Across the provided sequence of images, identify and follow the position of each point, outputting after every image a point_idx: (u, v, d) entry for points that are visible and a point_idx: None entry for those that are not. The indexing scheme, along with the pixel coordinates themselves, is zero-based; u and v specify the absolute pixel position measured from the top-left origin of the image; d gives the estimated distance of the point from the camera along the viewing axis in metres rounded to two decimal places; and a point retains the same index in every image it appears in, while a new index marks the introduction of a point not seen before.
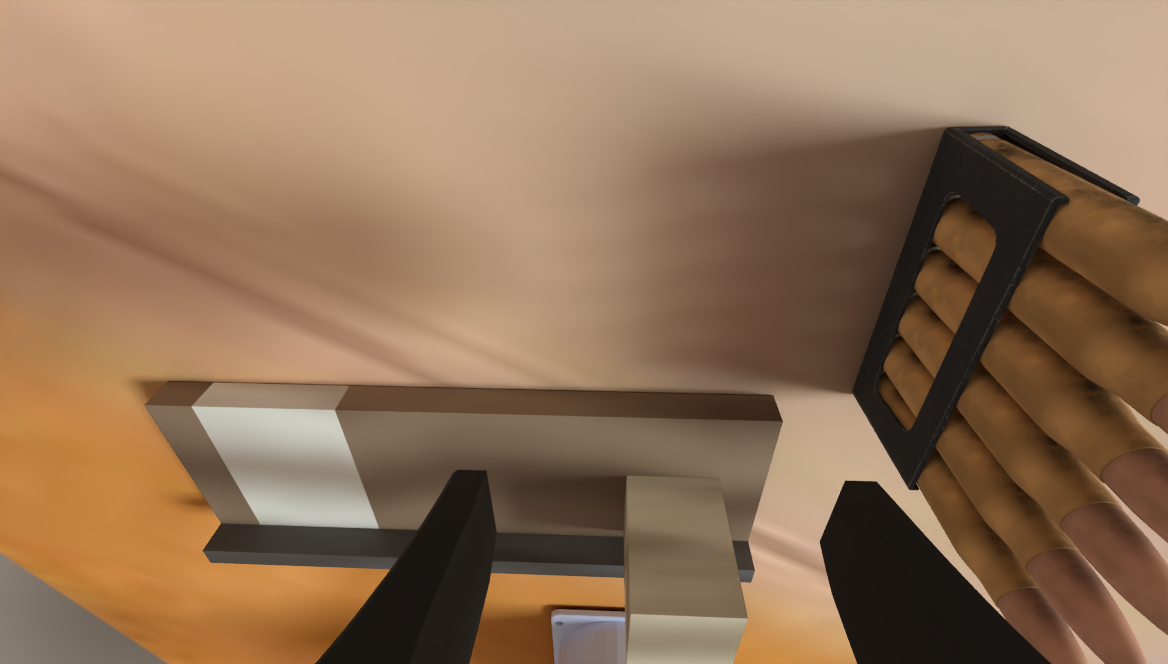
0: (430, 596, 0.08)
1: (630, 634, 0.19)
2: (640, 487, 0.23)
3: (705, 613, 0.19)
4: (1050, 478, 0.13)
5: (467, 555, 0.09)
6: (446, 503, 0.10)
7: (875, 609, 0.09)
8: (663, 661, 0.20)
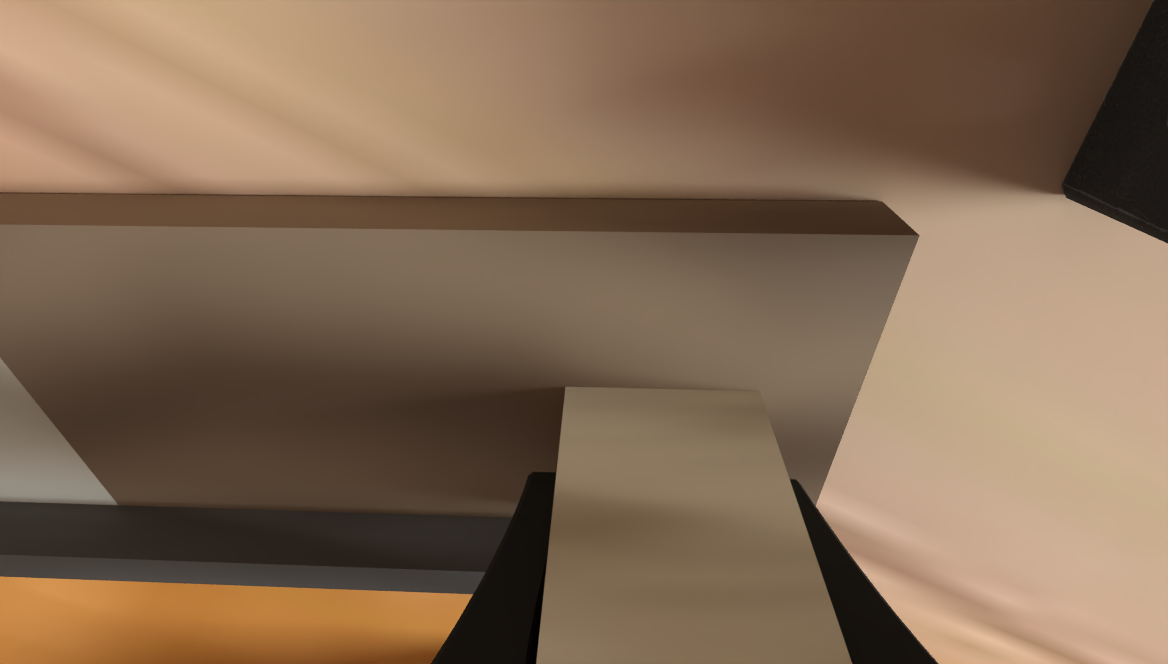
0: (531, 600, 0.08)
1: None
2: (592, 407, 0.11)
3: None
4: None
5: None
6: (530, 506, 0.10)
7: None
8: None
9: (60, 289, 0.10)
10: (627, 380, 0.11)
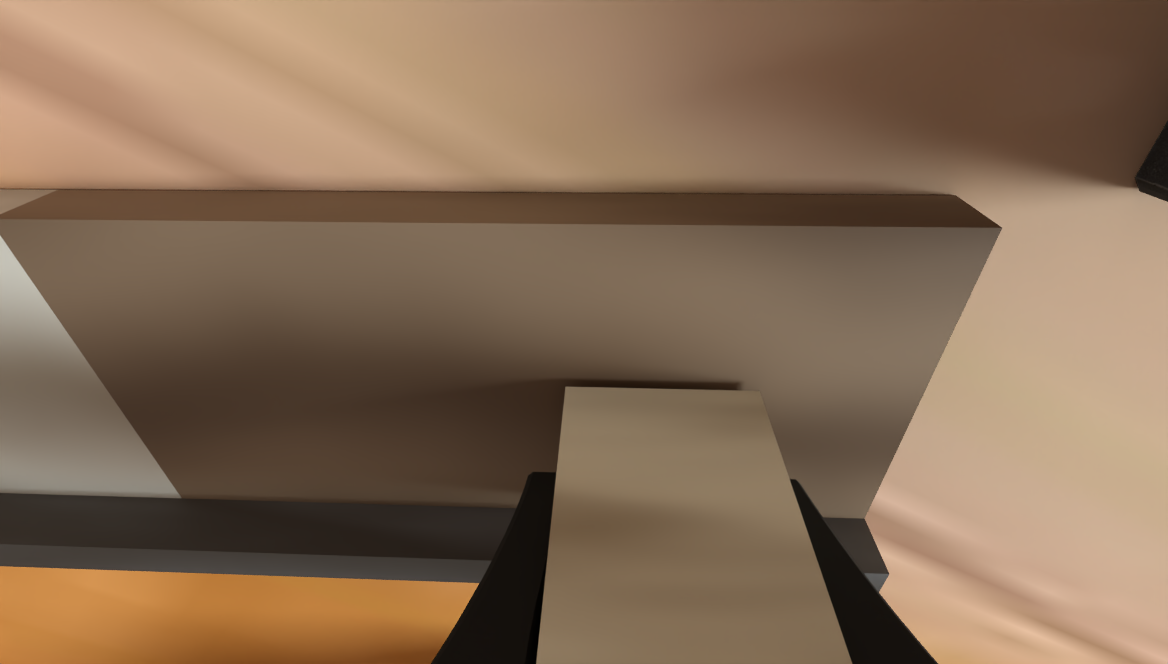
0: (532, 600, 0.08)
1: None
2: (592, 407, 0.11)
3: None
4: None
5: None
6: (530, 506, 0.10)
7: None
8: None
9: (147, 284, 0.10)
10: (699, 372, 0.11)
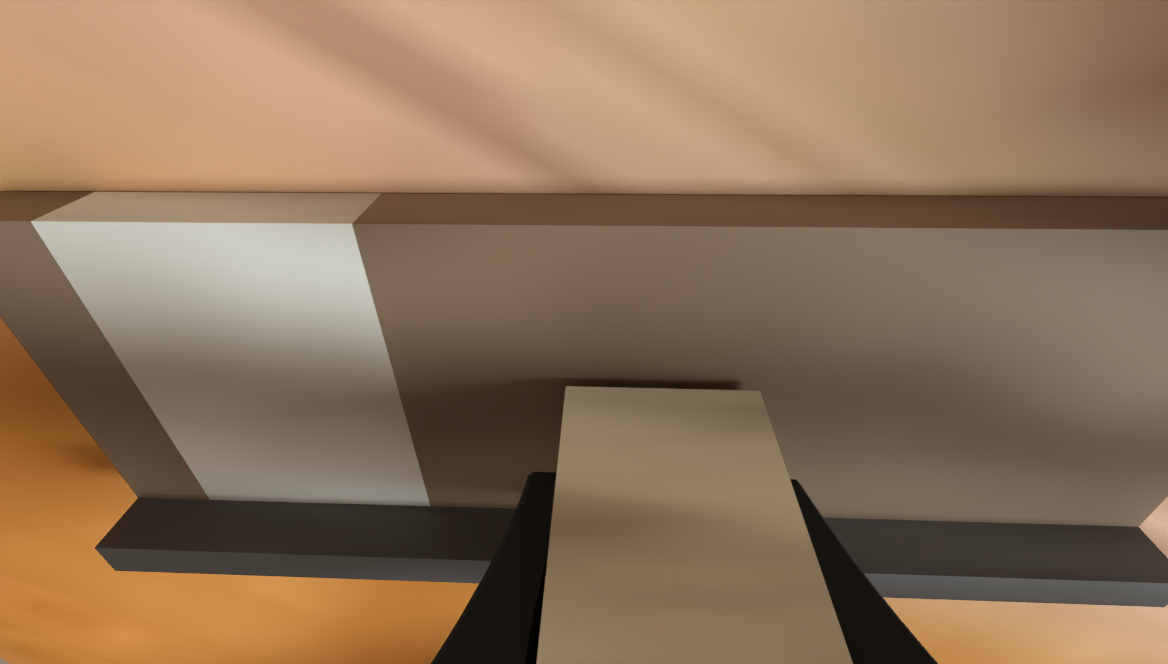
0: (531, 600, 0.08)
1: None
2: (592, 407, 0.11)
3: None
4: None
5: None
6: (530, 506, 0.10)
7: None
8: None
9: (489, 289, 0.10)
10: (1032, 379, 0.11)
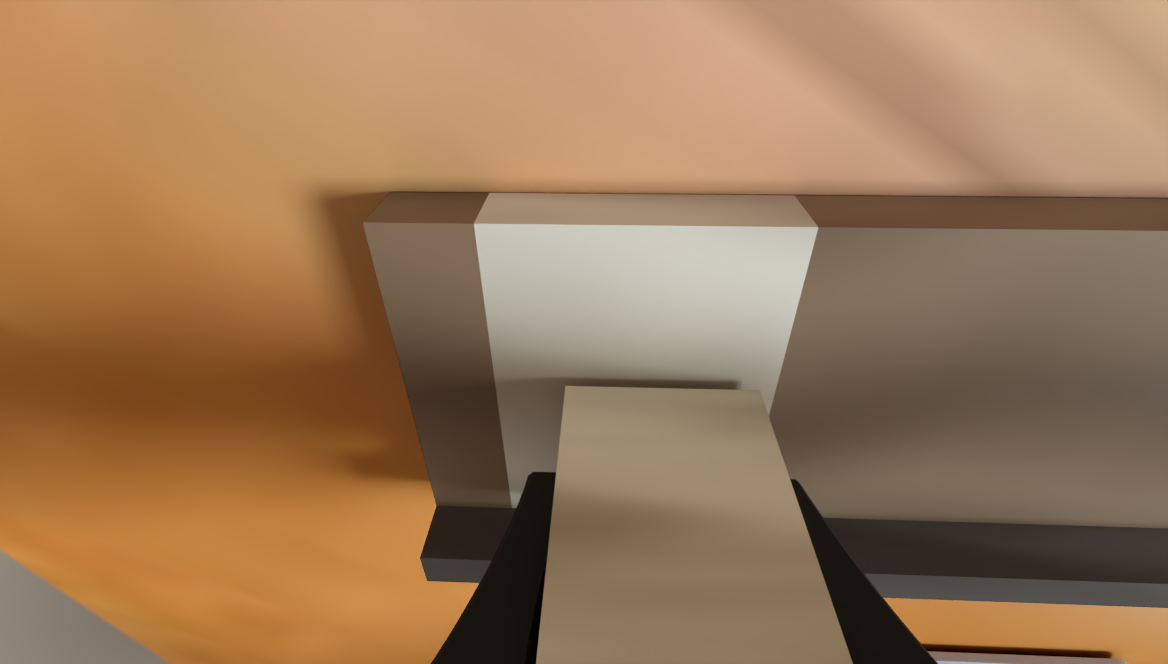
0: (531, 600, 0.08)
1: None
2: (591, 406, 0.11)
3: None
4: None
5: None
6: (530, 506, 0.10)
7: None
8: None
9: (928, 295, 0.10)
10: None
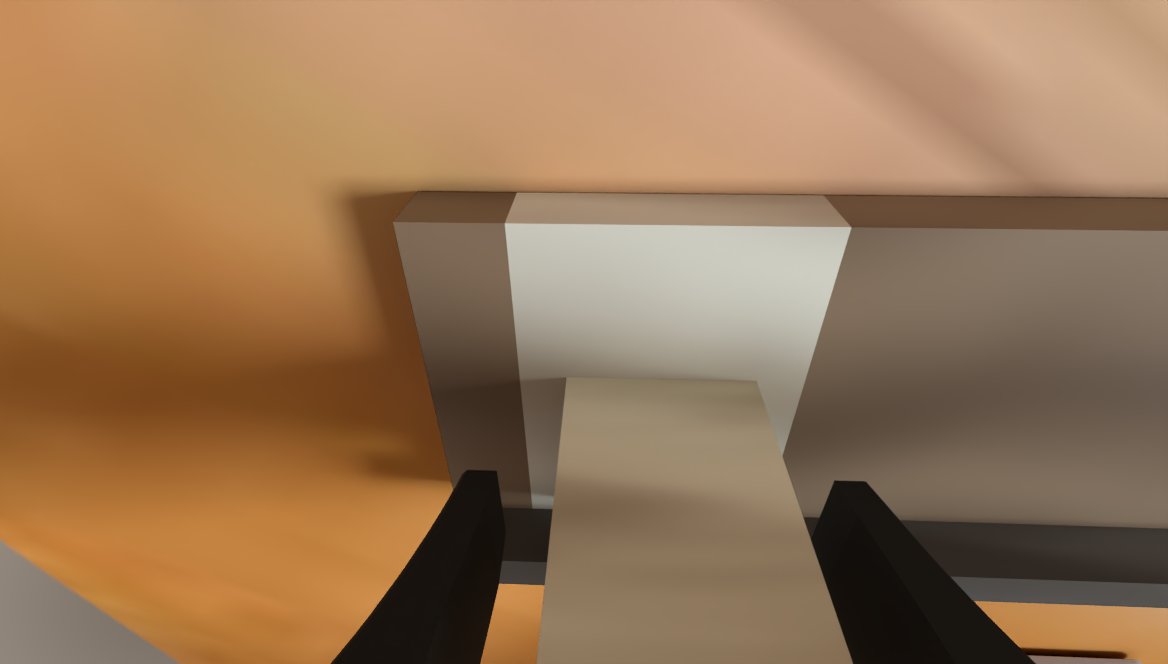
0: (443, 597, 0.08)
1: None
2: (592, 397, 0.11)
3: None
4: None
5: (478, 555, 0.09)
6: (457, 503, 0.10)
7: (863, 608, 0.09)
8: None
9: (959, 295, 0.10)
10: None
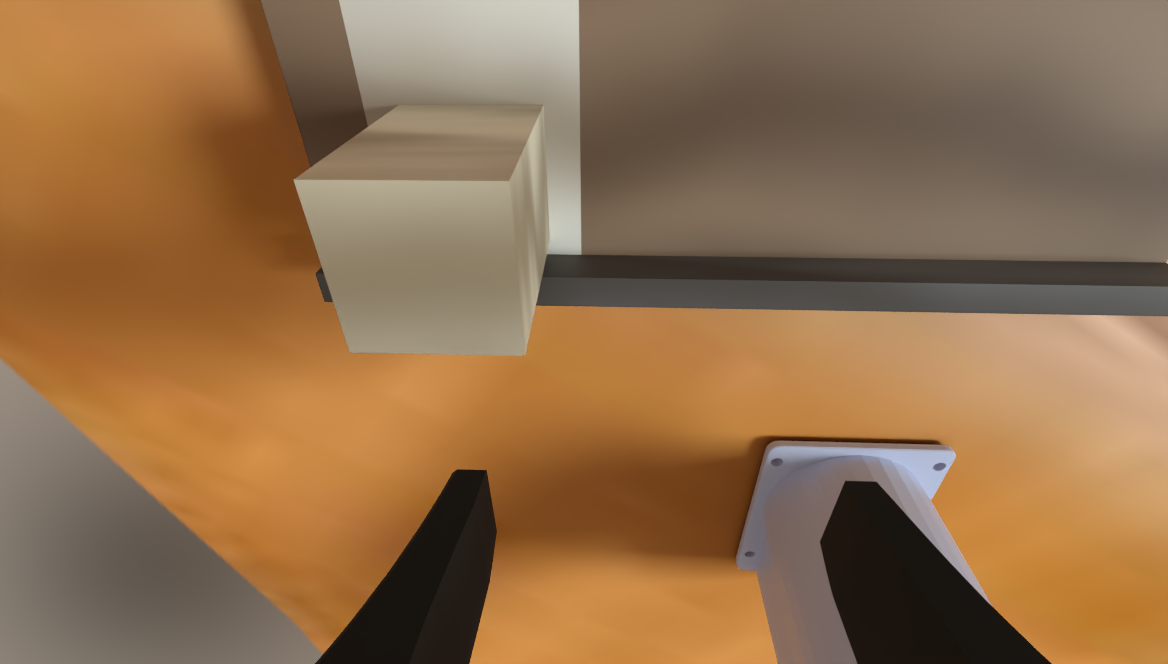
0: (430, 596, 0.08)
1: (319, 250, 0.11)
2: (412, 110, 0.14)
3: (433, 177, 0.10)
4: None
5: (467, 555, 0.09)
6: (446, 503, 0.10)
7: (875, 609, 0.09)
8: (405, 332, 0.12)
9: (672, 13, 0.13)
10: (1088, 98, 0.14)
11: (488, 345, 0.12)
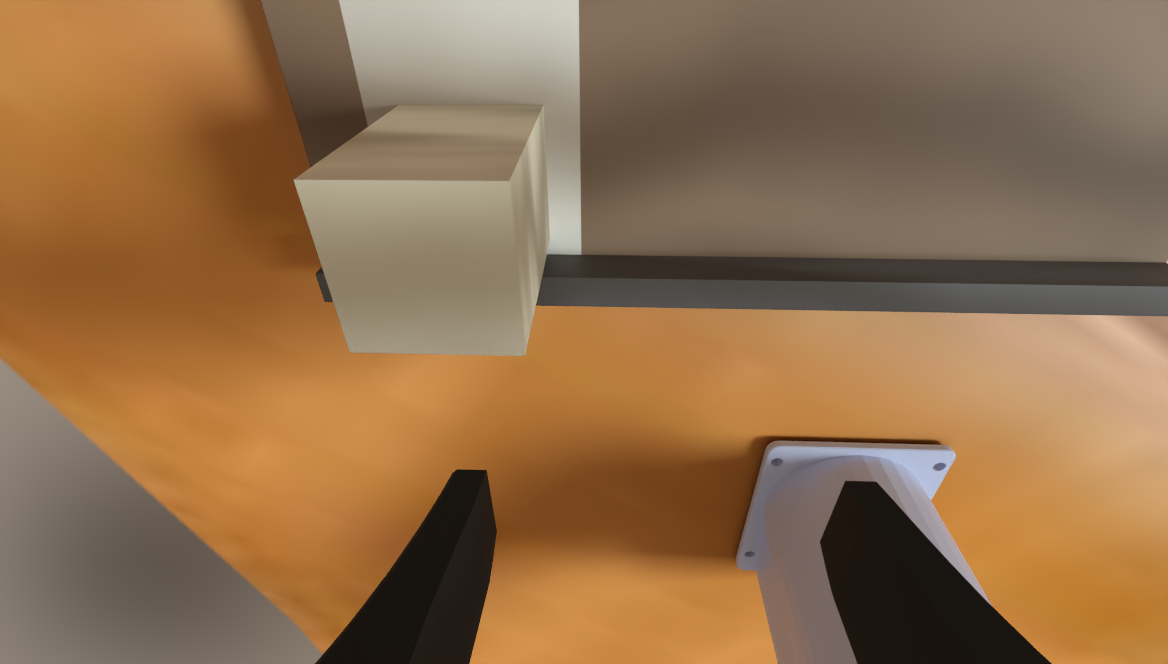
0: (430, 596, 0.08)
1: (319, 250, 0.11)
2: (412, 110, 0.14)
3: (433, 177, 0.10)
4: None
5: (467, 555, 0.09)
6: (446, 503, 0.10)
7: (875, 609, 0.09)
8: (405, 332, 0.12)
9: (672, 13, 0.13)
10: (1088, 98, 0.14)
11: (488, 345, 0.12)
